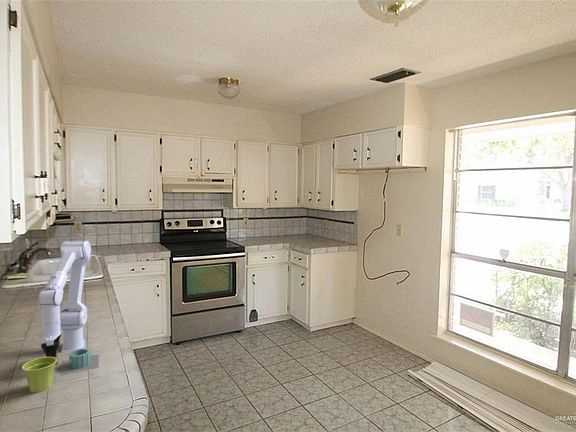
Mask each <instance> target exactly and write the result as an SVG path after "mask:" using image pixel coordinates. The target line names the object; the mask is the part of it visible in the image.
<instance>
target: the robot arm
mask: <svg viewBox="0 0 576 432" xmlns="http://www.w3.org/2000/svg"><path fill="white" fill-rule="evenodd" d="M91 253H92V247H91V244H90V242H89V241H87V240H85V241H63V242H62V243H61V246H60V255H61V257H60V260H59V263H58V267H57V269H56V271H54V272H52V273H51V274H50V277H49V278H48V281H47V283H46V284H45V287H44V289H42V290H41V291H39V292H38V295H37V298H36V303H37V305H38V308H39V311H41V329H42V330H41V332H42V333H40V334H38V338H39V339H40V338H42V339H43V340H44V341H45V343H41V344H40V347H41V349H42V350H43V352H44V355H45V357H55V358H56V352H57V353H58V348H59V345H60V343H61V341H60V339H61V338H62V346H61V353H65V352H67V353H68V352H72V351H74V350H78V349H82V348H85V342H86V341H85V339H84V327H83V326H84V325H85V324H87V321H88V307H87V306H86V305H85V304H84V303H83V302H82V295H83V287H84V280H85V273H86V265H87V263H88V262H89V261H91V260H90V259H91ZM70 268H71V272H70V278H69V276H68V275H67V274H68V272H69V271H70ZM68 278H69V287H68V292H67V293H68V294H67V301H66V302H65V303H64V304H63V305H62V306H61V304H62V302H63V297H64V289H65V285H66V283H67V281H68ZM61 330H62V331H61ZM61 336H62V337H61Z"/></svg>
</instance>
